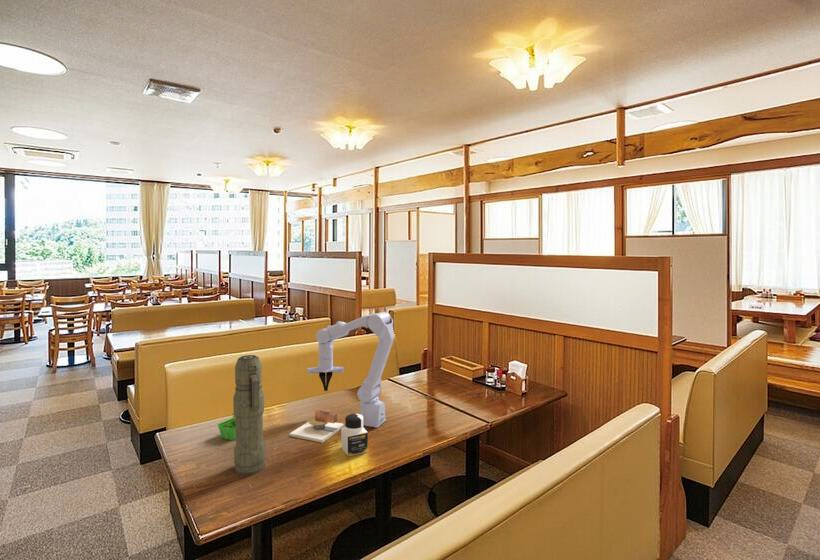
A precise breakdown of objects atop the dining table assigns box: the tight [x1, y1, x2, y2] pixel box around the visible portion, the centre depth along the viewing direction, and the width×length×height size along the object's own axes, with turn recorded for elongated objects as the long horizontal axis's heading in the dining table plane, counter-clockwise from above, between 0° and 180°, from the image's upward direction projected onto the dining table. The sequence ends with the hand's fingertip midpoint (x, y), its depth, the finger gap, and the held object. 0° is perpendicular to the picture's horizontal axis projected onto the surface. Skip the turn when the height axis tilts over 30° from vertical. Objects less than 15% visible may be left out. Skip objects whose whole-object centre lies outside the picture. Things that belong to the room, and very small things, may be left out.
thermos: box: [232, 354, 266, 476], centre depth 131 cm, size 9×12×35 cm
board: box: [289, 421, 345, 443], centre depth 160 cm, size 14×15×3 cm
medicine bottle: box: [340, 413, 369, 457], centre depth 145 cm, size 7×7×12 cm
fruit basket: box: [217, 412, 236, 441], centre depth 156 cm, size 11×9×11 cm
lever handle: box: [308, 409, 338, 426], centre depth 160 cm, size 8×11×4 cm
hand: (325, 390), depth 175 cm, fingers closed
